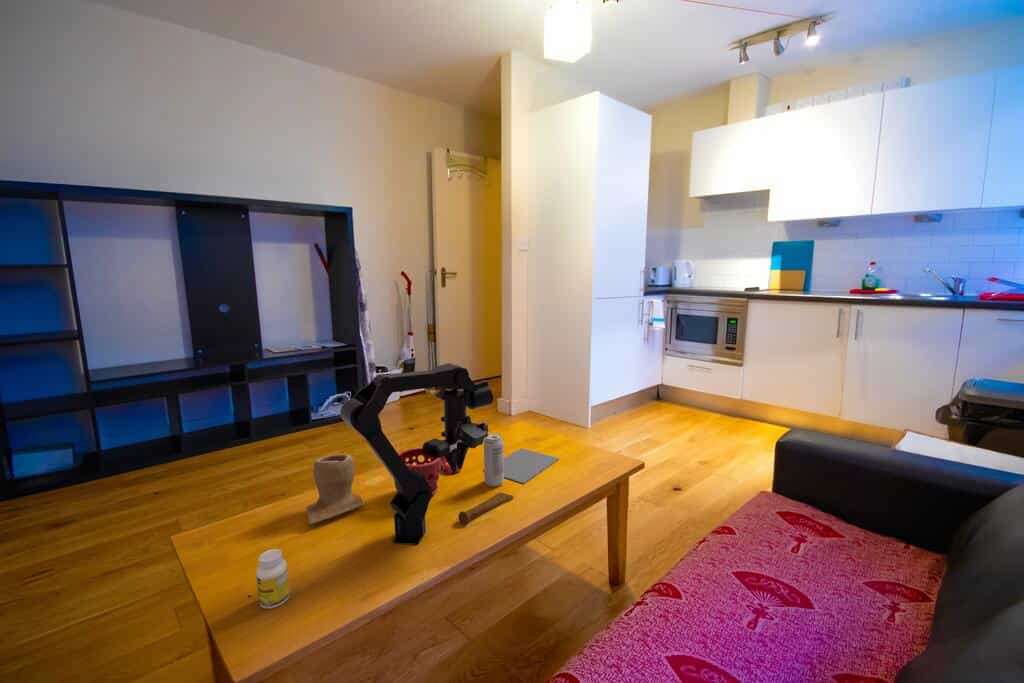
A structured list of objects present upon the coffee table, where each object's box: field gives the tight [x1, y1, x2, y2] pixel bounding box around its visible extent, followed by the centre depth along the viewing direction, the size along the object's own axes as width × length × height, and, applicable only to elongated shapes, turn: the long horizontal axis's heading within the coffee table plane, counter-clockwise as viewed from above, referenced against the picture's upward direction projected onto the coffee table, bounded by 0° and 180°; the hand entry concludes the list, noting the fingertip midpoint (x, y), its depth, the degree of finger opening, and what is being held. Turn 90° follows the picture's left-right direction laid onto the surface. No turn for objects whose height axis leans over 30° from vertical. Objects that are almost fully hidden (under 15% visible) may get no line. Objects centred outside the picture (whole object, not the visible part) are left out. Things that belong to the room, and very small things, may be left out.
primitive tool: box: [457, 492, 515, 525], centre depth 121 cm, size 19×6×4 cm, turn 145°
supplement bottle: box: [255, 548, 291, 609], centre depth 87 cm, size 5×5×10 cm
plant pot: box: [398, 447, 442, 497], centre depth 129 cm, size 13×13×12 cm
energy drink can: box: [483, 433, 505, 488], centre depth 135 cm, size 6×6×15 cm
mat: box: [482, 447, 560, 485], centre depth 149 cm, size 22×16×1 cm
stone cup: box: [305, 453, 364, 525], centre depth 120 cm, size 15×12×15 cm
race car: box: [441, 457, 462, 475], centre depth 148 cm, size 13×5×4 cm, turn 27°
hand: (457, 470), depth 116 cm, fingers closed
